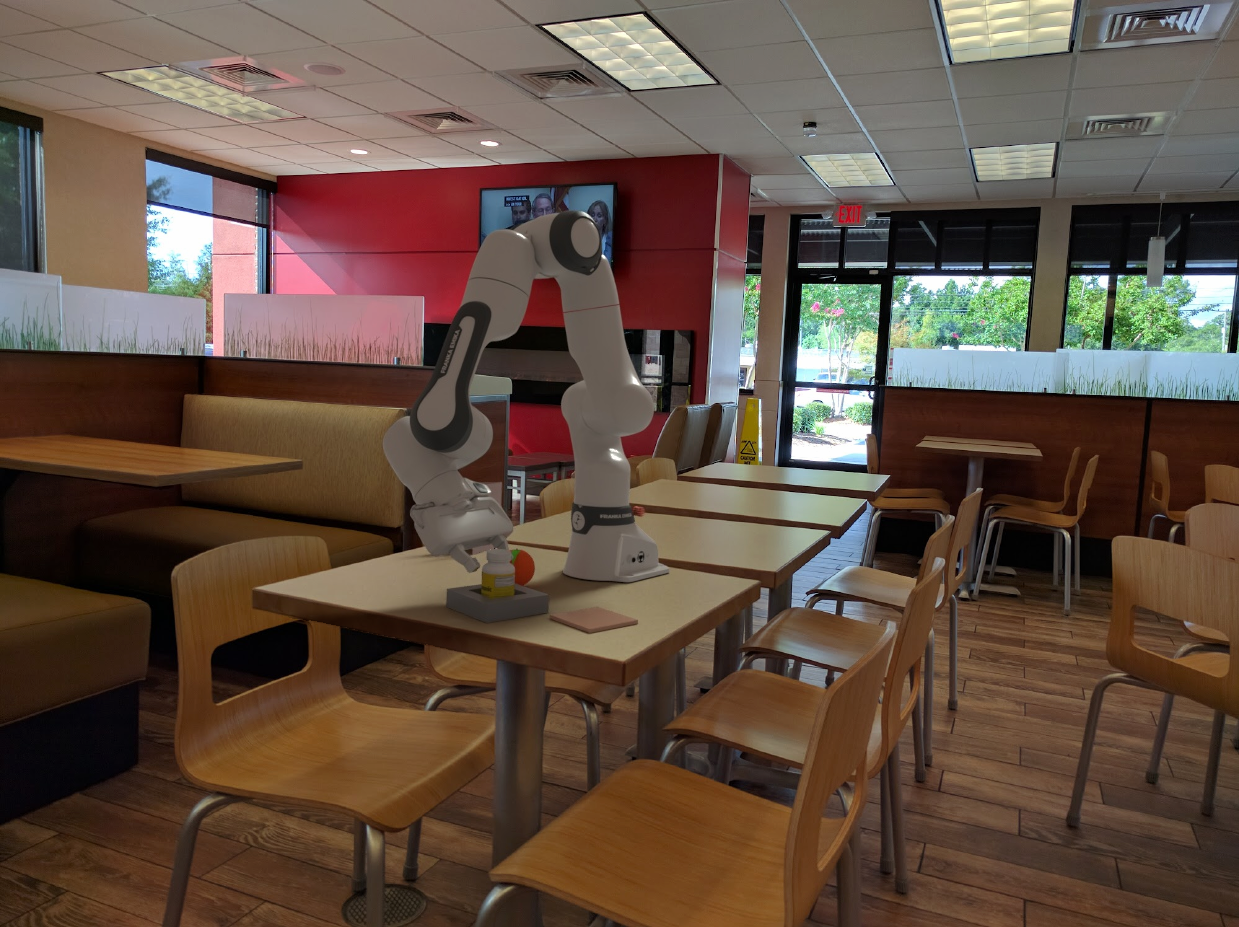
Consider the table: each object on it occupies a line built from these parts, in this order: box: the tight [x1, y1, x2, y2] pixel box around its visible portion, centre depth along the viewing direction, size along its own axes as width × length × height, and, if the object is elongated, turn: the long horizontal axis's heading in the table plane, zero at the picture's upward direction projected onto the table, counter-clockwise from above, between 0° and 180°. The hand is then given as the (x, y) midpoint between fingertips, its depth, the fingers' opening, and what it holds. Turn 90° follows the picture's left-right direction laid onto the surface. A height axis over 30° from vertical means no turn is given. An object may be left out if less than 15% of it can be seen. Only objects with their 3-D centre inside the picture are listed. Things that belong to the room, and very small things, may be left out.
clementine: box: [509, 549, 536, 586], centre depth 160 cm, size 8×7×7 cm
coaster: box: [549, 606, 639, 634], centre depth 139 cm, size 10×10×1 cm
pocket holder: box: [445, 583, 550, 624], centre depth 143 cm, size 12×12×3 cm
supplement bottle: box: [481, 548, 515, 599], centre depth 143 cm, size 5×5×10 cm
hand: (492, 565), depth 143 cm, fingers open, 8 cm apart
